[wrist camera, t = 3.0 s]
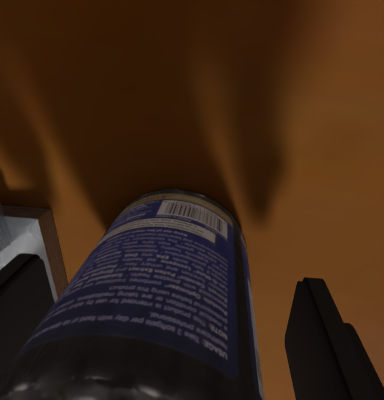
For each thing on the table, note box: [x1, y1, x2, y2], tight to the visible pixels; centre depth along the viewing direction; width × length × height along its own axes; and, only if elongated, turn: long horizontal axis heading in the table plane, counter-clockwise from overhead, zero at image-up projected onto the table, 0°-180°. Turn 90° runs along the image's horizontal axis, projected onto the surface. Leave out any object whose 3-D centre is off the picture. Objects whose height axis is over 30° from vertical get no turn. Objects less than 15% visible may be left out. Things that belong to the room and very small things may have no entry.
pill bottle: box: [0, 188, 264, 400], centre depth 8 cm, size 6×6×11 cm
